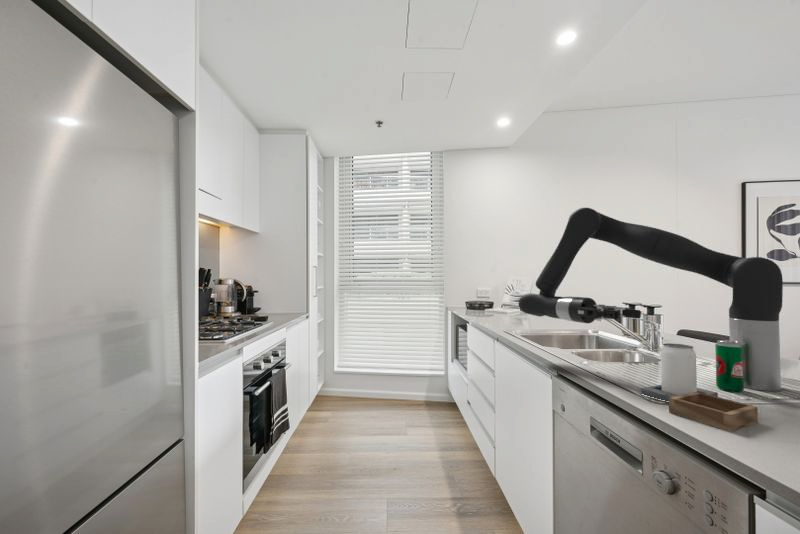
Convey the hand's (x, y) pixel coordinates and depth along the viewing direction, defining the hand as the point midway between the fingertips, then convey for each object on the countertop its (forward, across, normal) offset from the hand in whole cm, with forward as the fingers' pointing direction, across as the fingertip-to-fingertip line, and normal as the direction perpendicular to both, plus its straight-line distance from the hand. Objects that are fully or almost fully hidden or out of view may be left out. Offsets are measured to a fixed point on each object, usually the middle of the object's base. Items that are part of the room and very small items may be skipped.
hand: (630, 314), depth 93 cm
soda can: (+13, +19, +18) cm, 29 cm away
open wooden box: (+21, -8, +18) cm, 28 cm away
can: (+11, 0, +18) cm, 21 cm away
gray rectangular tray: (+11, 0, +18) cm, 21 cm away
